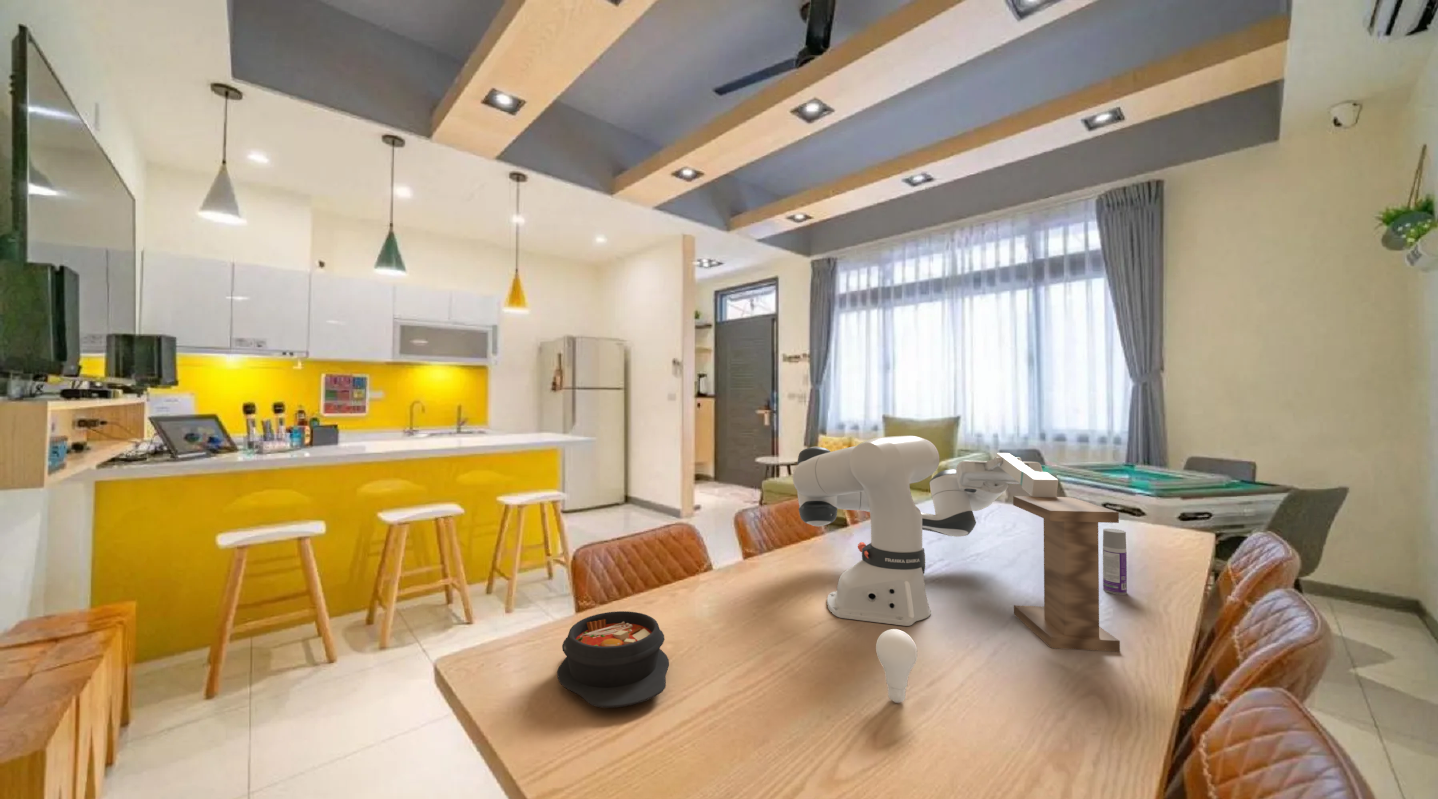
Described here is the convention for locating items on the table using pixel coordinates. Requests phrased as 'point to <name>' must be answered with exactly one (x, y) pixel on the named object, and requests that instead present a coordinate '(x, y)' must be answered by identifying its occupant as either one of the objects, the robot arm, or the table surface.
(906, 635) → the lightbulb
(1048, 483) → the bar
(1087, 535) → the wooden i-beam block
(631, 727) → the table surface
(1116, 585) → the container
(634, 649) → the casserole
